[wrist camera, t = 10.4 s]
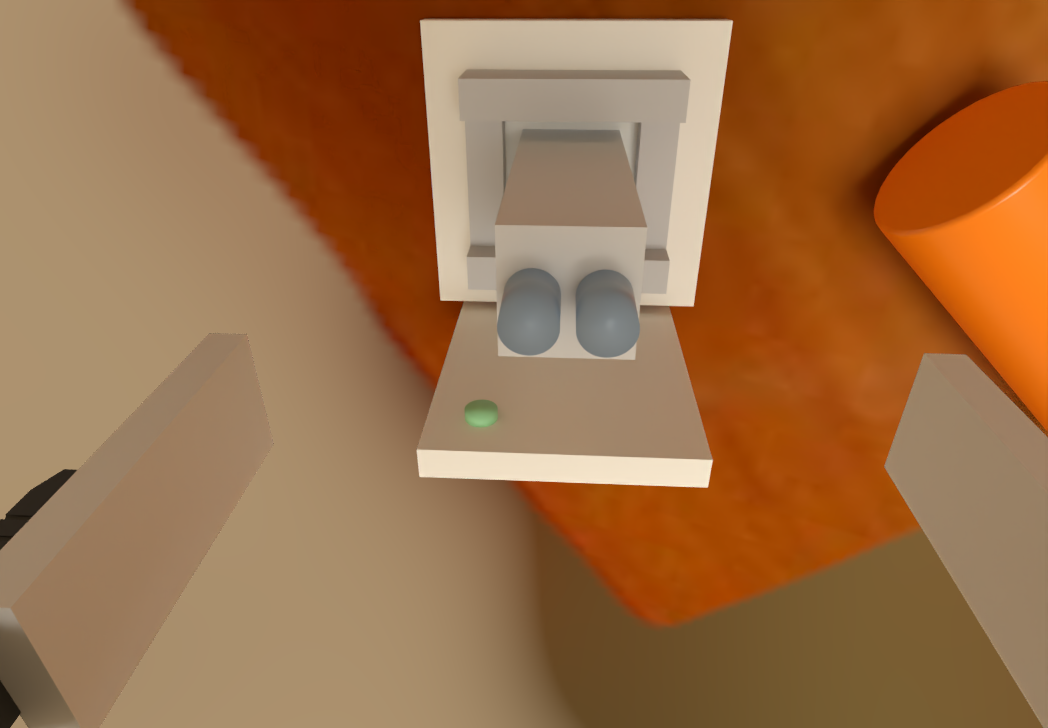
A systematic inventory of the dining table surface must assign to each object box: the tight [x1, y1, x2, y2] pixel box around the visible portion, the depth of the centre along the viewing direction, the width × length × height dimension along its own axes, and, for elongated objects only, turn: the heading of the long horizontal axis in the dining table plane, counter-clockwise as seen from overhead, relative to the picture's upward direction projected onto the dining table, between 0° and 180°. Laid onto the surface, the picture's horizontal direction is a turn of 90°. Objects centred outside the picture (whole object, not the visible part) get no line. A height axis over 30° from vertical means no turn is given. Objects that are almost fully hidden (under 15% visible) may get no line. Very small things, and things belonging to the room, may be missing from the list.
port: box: [417, 19, 733, 488], centre depth 25 cm, size 14×12×12 cm
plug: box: [495, 129, 647, 360], centre depth 23 cm, size 4×4×14 cm
